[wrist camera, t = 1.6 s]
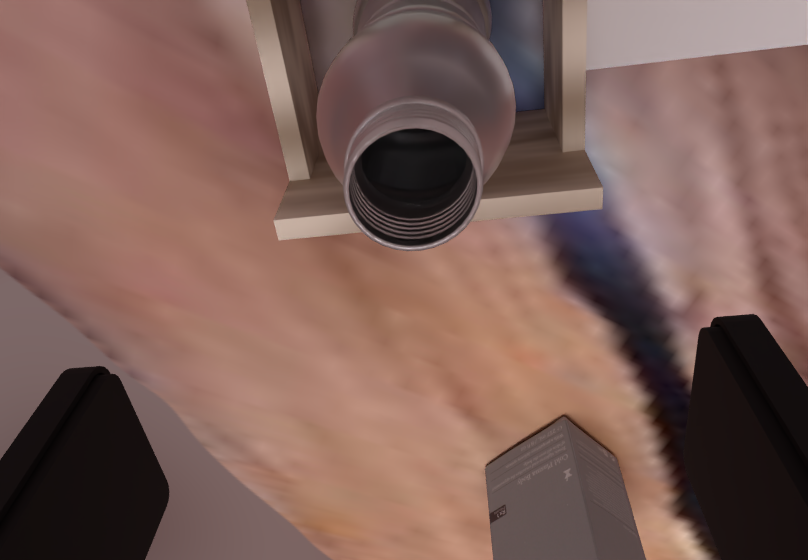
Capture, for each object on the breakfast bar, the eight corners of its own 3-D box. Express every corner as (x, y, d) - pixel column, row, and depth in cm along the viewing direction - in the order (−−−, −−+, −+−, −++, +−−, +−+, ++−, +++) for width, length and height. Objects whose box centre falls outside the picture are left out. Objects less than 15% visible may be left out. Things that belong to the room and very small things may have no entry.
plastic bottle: (515, -1, 33) (600, 162, 17) (431, 106, 36) (432, 334, 20) (411, -89, 31) (387, -4, 15) (331, 32, 35) (238, 215, 18)
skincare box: (564, 411, 48) (614, 627, 35) (624, 460, 51) (691, 679, 38) (477, 467, 52) (493, 682, 39) (537, 510, 55) (571, 726, 41)
